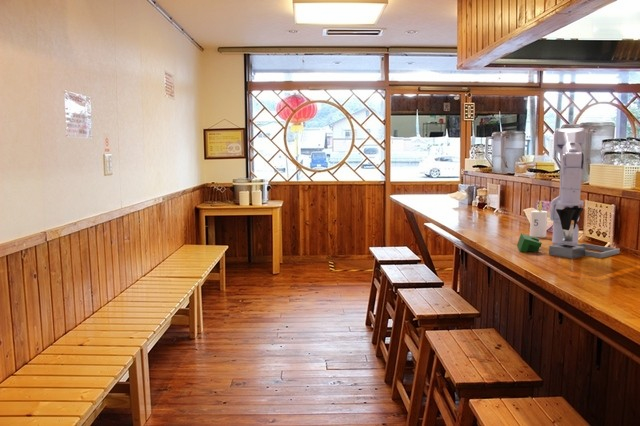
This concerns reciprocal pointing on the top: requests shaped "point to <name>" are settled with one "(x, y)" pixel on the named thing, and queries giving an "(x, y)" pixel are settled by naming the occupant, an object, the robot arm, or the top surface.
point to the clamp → (528, 243)
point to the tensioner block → (567, 250)
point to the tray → (607, 250)
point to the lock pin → (568, 233)
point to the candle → (538, 222)
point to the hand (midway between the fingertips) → (568, 229)
